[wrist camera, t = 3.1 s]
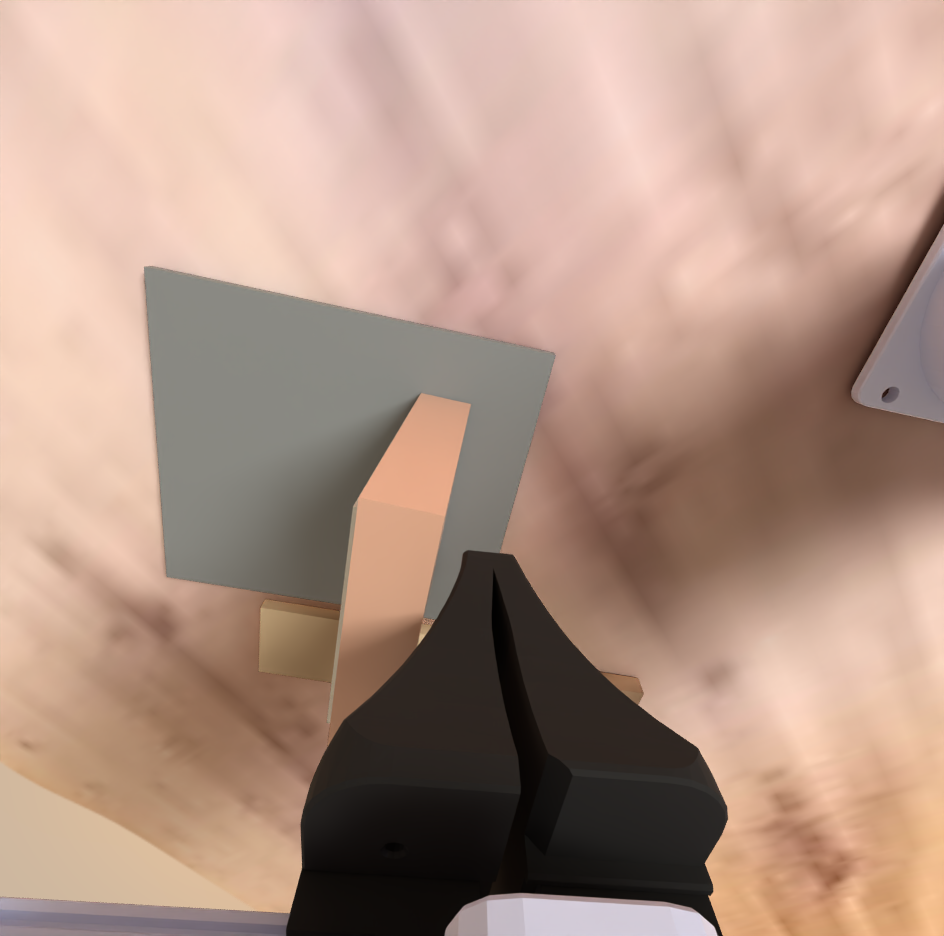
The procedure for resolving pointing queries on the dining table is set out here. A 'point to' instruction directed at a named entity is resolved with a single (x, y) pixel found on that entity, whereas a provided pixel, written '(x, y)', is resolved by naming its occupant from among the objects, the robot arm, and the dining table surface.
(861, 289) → the dining table surface
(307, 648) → the tan wooden bar
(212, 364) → the mat
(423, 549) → the tile
